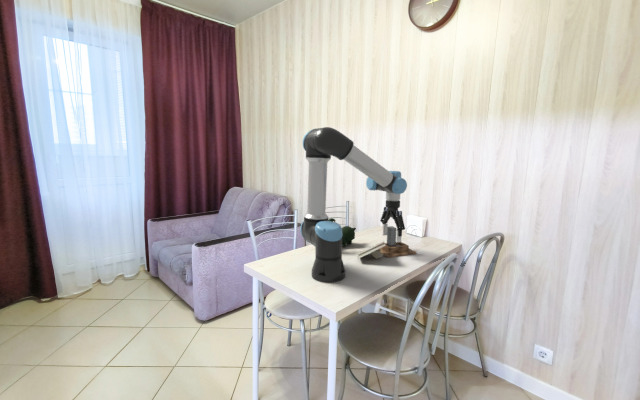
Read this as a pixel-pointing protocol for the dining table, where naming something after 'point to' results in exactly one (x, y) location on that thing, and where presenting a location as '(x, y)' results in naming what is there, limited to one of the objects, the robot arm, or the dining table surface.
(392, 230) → the bracket
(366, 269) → the dining table surface
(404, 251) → the brown wooden flat frame
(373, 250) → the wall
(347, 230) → the toy figurine
